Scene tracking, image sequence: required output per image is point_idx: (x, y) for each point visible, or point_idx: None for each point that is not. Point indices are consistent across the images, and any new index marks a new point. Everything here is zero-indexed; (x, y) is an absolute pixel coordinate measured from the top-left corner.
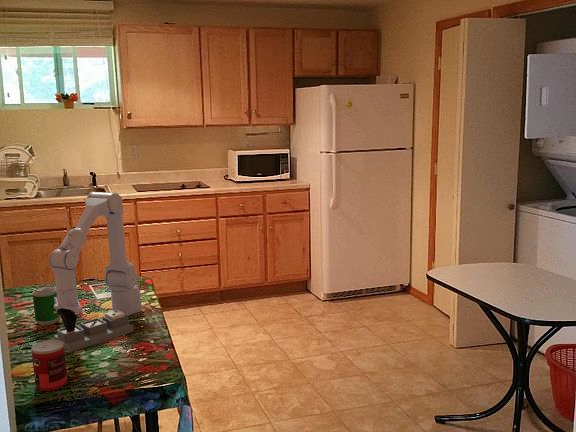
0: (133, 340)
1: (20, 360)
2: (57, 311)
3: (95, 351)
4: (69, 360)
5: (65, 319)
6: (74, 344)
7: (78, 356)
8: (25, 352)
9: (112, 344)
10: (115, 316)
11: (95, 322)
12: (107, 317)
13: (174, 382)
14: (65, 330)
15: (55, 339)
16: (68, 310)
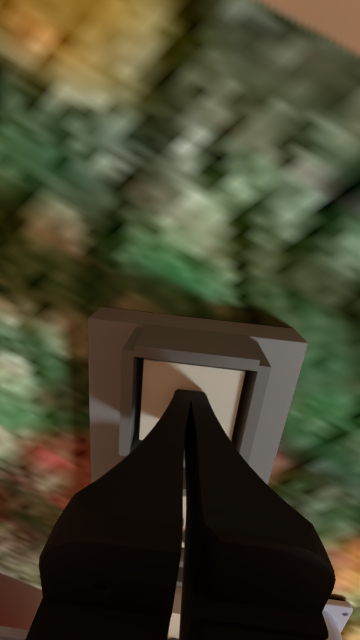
0: (25, 504)
1: (229, 31)
2: (280, 533)
3: (26, 376)
4: (9, 248)
5: (127, 456)
6: (88, 342)
7: (25, 302)
8: (316, 132)
9: (45, 450)
10: None
11: (182, 535)
12: (180, 589)
13: None
14: (228, 396)
15: (282, 333)
16: (79, 618)
